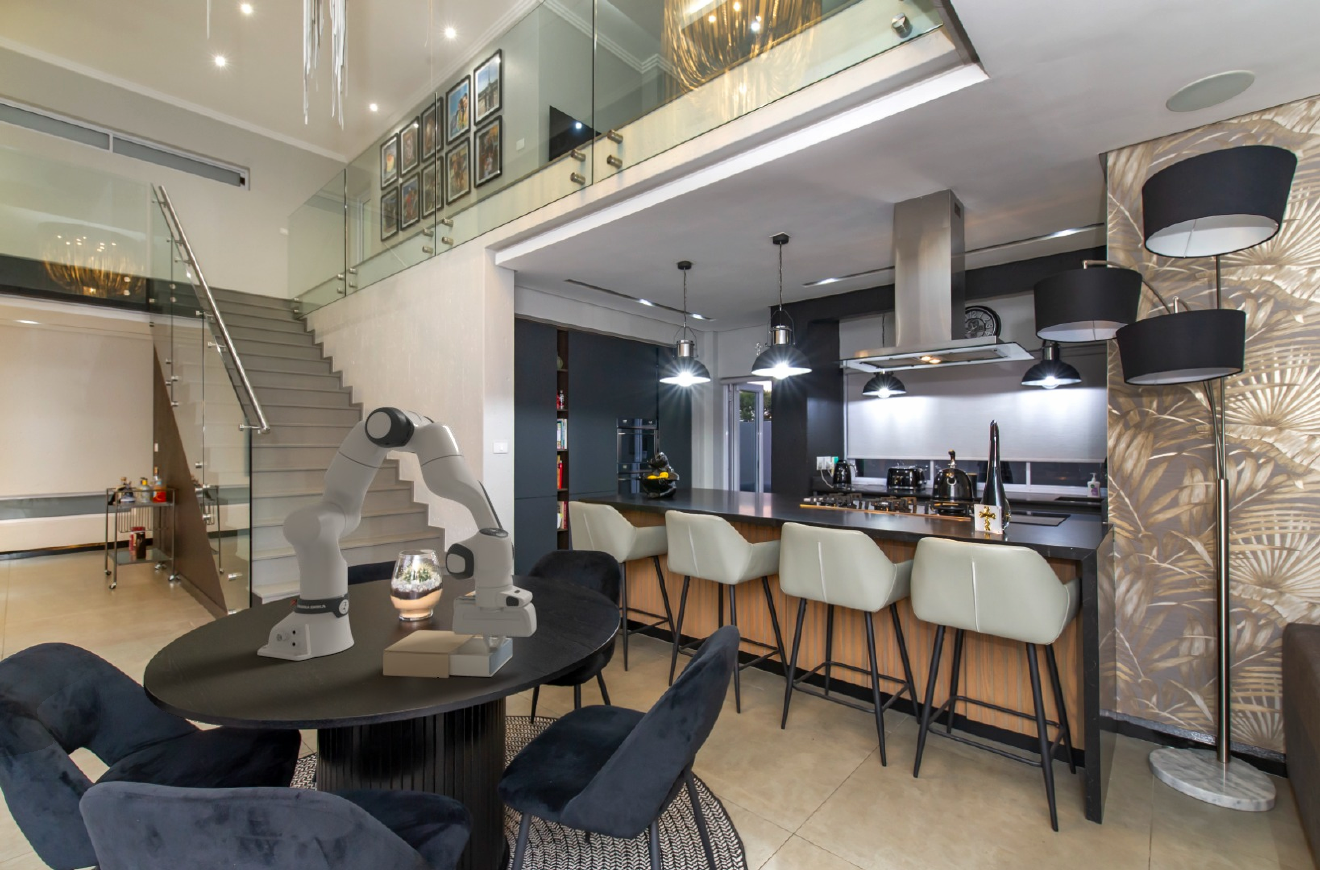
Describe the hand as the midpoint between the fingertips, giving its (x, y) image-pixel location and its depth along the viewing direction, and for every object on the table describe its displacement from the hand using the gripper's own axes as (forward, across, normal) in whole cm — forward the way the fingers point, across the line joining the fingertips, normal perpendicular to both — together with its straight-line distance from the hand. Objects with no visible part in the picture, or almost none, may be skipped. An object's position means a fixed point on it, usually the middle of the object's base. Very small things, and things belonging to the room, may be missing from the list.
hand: (494, 653), depth 138 cm
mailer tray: (+3, -6, 0) cm, 6 cm away
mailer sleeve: (+3, -16, 0) cm, 16 cm away
